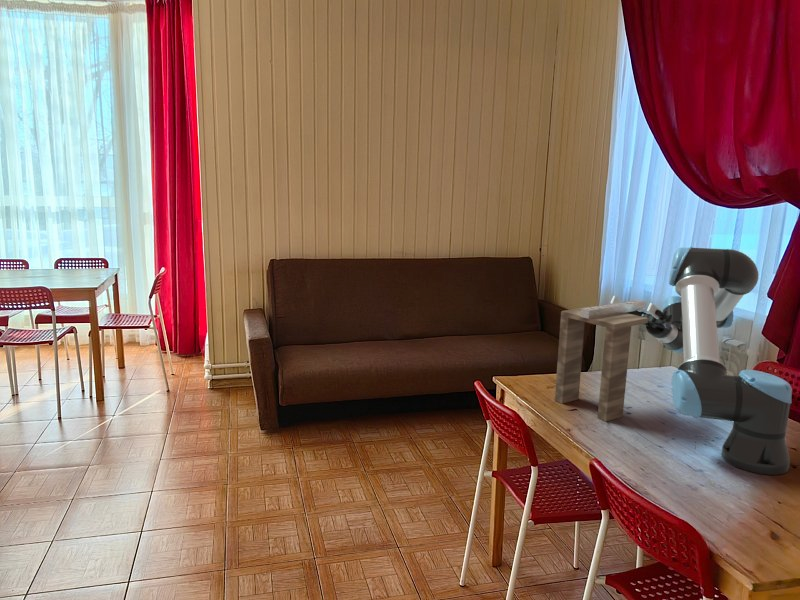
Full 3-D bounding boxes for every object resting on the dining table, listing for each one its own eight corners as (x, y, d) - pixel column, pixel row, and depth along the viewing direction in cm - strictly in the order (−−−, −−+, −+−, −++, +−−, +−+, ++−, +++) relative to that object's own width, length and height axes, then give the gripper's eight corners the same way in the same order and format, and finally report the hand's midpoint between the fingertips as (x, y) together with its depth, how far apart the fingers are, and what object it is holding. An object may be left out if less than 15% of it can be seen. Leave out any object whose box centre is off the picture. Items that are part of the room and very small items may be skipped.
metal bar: (645, 309, 195) (646, 301, 194) (588, 318, 179) (589, 310, 179) (637, 307, 197) (638, 300, 197) (580, 316, 182) (581, 308, 181)
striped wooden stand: (638, 411, 188) (648, 318, 182) (605, 421, 179) (614, 324, 173) (587, 392, 204) (594, 306, 198) (554, 400, 195) (561, 311, 189)
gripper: (691, 347, 194) (661, 321, 182) (625, 330, 214) (594, 306, 202) (700, 326, 195) (670, 299, 183) (633, 311, 215) (603, 286, 203)
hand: (630, 303), depth 192 cm, fingers open, 13 cm apart
